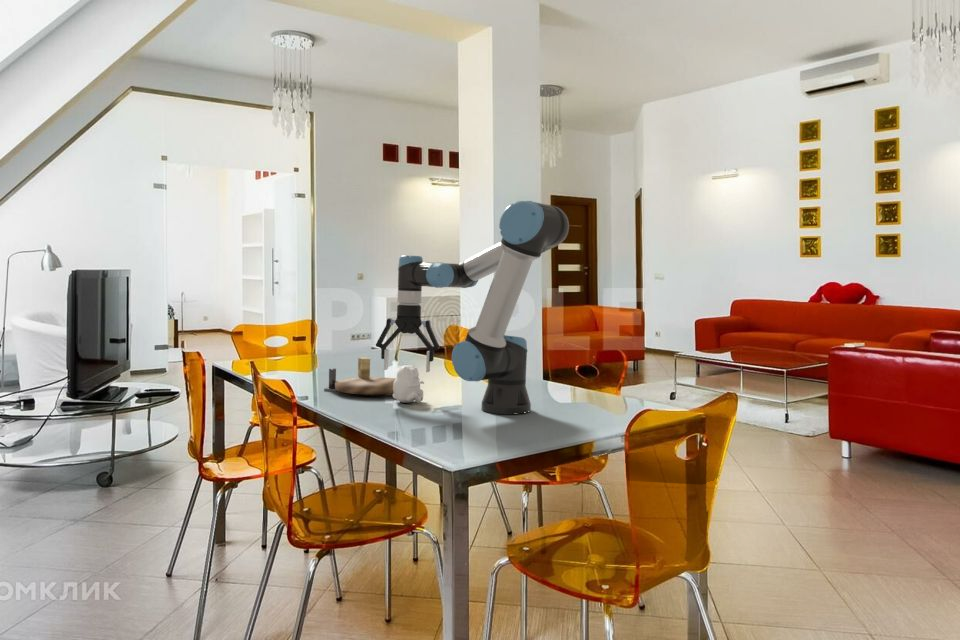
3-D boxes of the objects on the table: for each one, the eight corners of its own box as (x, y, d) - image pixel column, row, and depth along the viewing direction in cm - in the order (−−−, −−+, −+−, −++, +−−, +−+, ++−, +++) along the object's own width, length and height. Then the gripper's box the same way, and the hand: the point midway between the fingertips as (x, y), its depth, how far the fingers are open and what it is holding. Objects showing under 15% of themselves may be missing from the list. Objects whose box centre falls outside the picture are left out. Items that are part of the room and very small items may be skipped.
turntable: (417, 383, 249) (418, 359, 248) (402, 396, 222) (403, 368, 222) (347, 381, 251) (348, 356, 251) (324, 392, 224) (325, 365, 224)
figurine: (387, 404, 215) (388, 366, 215) (396, 399, 225) (397, 362, 224) (418, 406, 214) (419, 367, 213) (425, 400, 223) (426, 364, 223)
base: (397, 390, 243) (397, 369, 242) (388, 396, 229) (389, 374, 228) (331, 387, 245) (331, 366, 244) (318, 393, 231) (318, 371, 230)
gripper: (449, 305, 220) (447, 370, 222) (373, 302, 222) (371, 366, 224) (446, 306, 213) (443, 374, 214) (367, 302, 215) (365, 369, 216)
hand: (406, 370), depth 219 cm, fingers open, 13 cm apart
